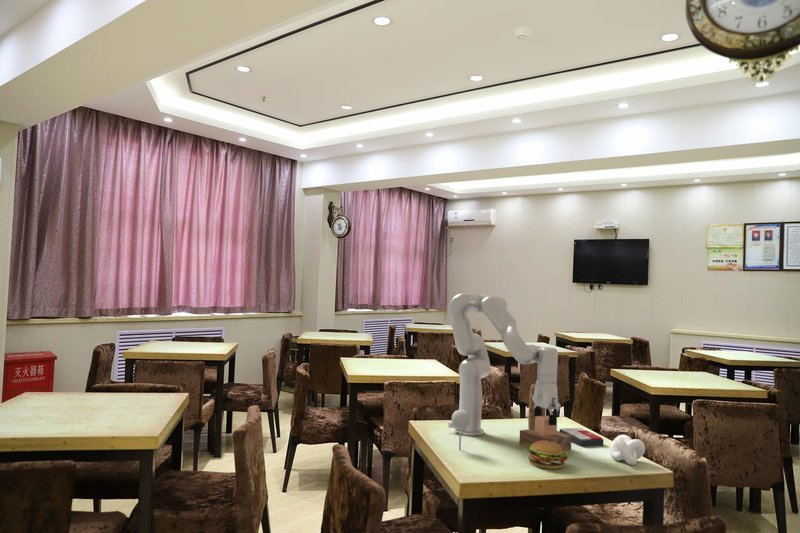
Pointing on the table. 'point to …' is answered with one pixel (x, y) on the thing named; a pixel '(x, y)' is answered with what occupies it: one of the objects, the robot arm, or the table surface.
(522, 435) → the walnut block
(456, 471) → the table surface
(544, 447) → the food
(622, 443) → the white knot
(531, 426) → the brown rock
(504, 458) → the table surface
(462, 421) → the lollipop
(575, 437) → the calculator
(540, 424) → the terracotta cube
